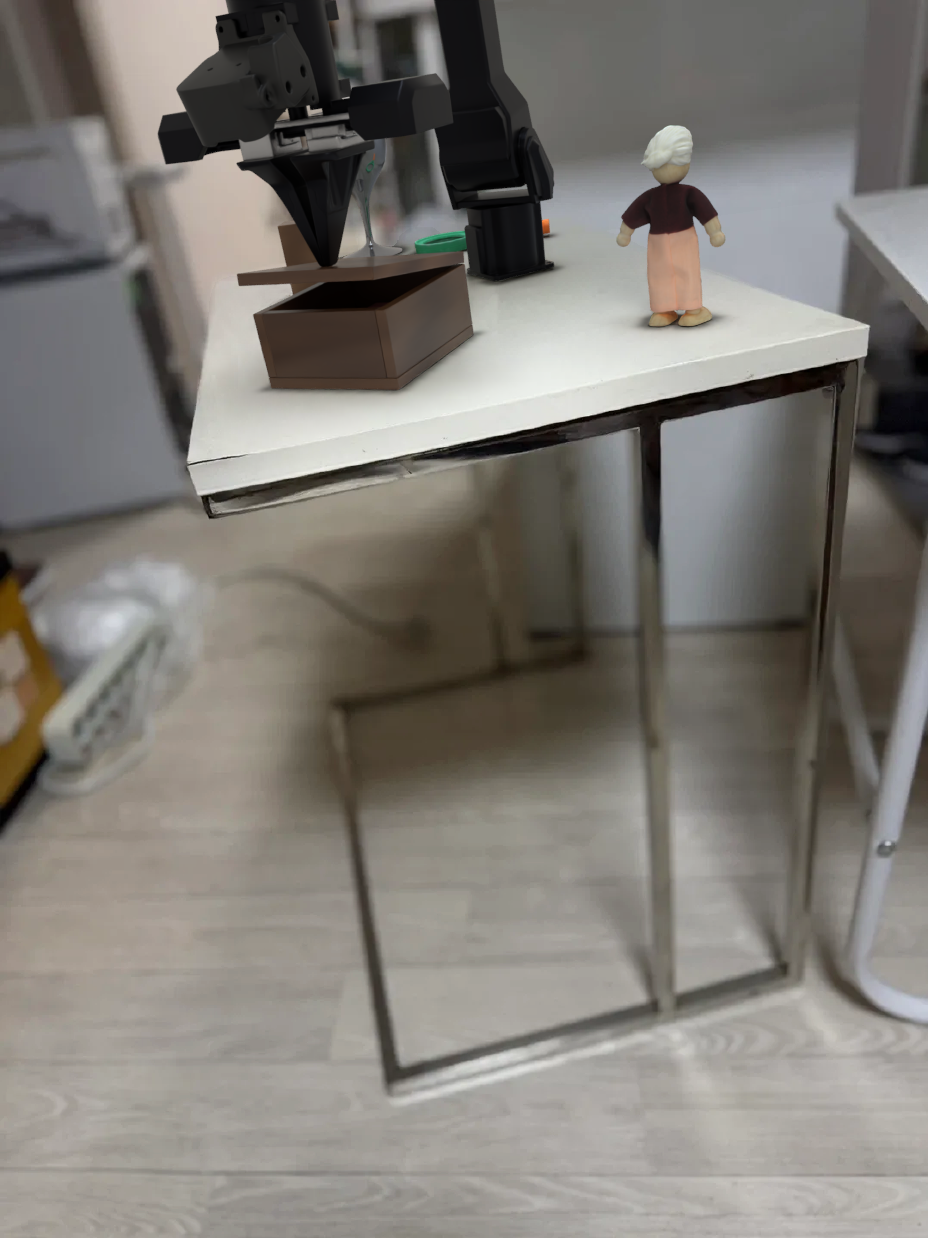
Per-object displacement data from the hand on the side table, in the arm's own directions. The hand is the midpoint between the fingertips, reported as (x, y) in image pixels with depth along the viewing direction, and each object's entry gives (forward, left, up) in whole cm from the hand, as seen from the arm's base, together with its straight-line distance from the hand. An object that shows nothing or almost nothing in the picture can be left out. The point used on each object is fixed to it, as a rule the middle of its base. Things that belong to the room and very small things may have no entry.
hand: (328, 265), depth 62 cm
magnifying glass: (-29, -36, -8) cm, 46 cm away
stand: (-7, -30, -8) cm, 31 cm away
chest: (-3, -2, -8) cm, 9 cm away
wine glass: (-19, -45, -8) cm, 49 cm away
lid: (-3, -2, -1) cm, 4 cm away
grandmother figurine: (-23, +7, -8) cm, 25 cm away
